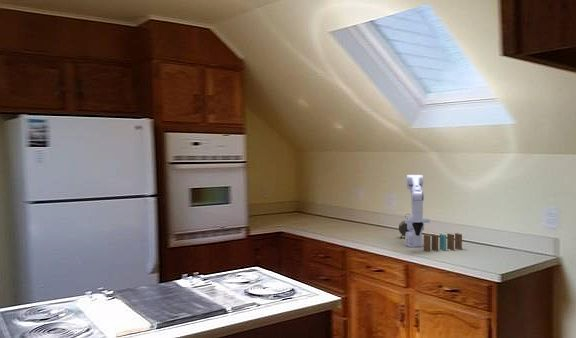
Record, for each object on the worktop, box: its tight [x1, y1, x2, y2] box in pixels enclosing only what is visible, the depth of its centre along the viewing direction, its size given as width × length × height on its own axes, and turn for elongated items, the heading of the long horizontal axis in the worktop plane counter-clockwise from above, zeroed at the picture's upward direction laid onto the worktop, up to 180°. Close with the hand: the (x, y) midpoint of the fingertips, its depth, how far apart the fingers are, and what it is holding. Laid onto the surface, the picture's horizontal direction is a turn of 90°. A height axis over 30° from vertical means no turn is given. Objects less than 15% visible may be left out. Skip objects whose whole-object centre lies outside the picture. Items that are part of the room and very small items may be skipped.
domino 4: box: [454, 232, 463, 251], centre depth 296 cm, size 2×5×9 cm, turn 12°
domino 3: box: [446, 233, 455, 251], centre depth 295 cm, size 2×5×9 cm, turn 12°
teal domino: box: [439, 233, 447, 252], centre depth 294 cm, size 2×5×9 cm, turn 11°
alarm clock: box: [398, 213, 411, 239], centre depth 332 cm, size 11×5×16 cm, turn 90°
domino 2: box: [431, 234, 439, 252], centre depth 293 cm, size 2×5×9 cm, turn 12°
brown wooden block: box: [423, 234, 431, 253], centre depth 292 cm, size 2×5×9 cm, turn 12°
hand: (417, 235), depth 291 cm, fingers closed
